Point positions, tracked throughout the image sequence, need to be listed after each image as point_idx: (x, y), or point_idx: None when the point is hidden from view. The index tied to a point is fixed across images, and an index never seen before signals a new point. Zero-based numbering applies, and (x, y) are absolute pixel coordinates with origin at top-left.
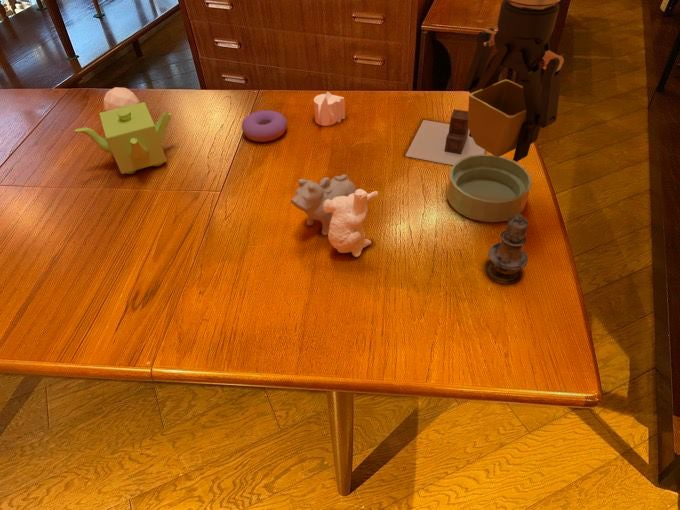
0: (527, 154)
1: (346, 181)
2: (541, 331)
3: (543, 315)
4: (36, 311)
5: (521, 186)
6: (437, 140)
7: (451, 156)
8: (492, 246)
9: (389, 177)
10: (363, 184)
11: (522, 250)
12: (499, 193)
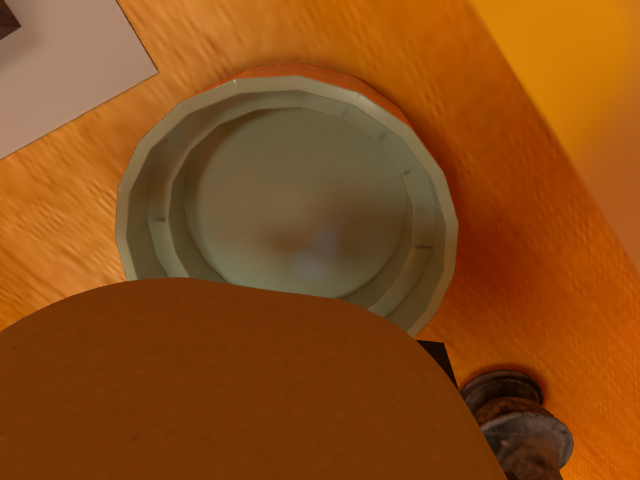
0: (445, 351)
1: None
2: (635, 470)
3: (628, 442)
4: None
5: (387, 139)
6: None
7: (13, 71)
8: None
9: (14, 318)
10: None
11: (546, 423)
12: (320, 166)
